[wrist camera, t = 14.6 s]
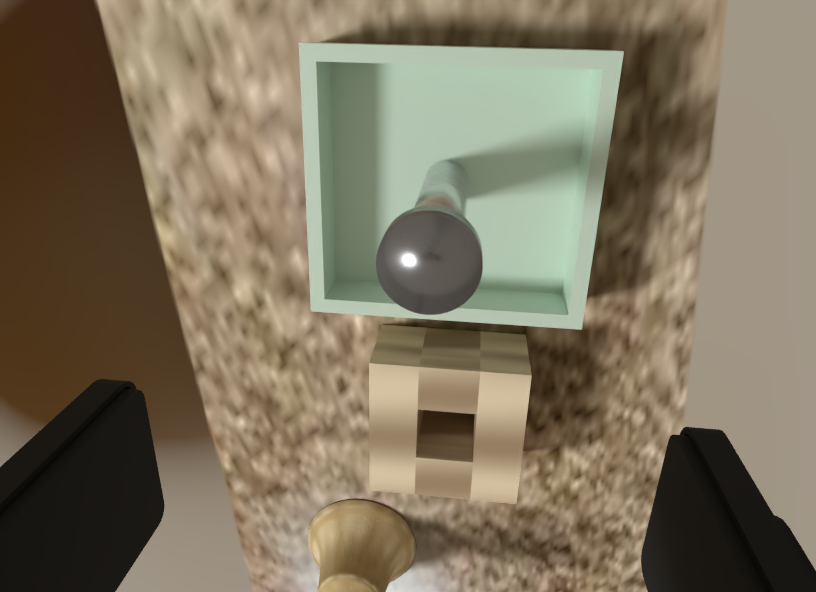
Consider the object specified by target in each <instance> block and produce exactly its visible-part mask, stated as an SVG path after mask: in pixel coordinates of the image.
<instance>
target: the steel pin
mask: <svg viewBox="0 0 816 592" xmlns="http://www.w3.org/2000/svg"><path fill="white" fill-rule="evenodd" d="M467 195H468V176H467V173H466V171H465V169H464V168H463V167H462V166H461V165H460V164H458V163H457V162H454V161H451V160H442V161H439V162H436V163H435V164H433V165H432V166H431V167H430V168H429V170H428V171H427V174H426V176H425V179H424V182H423V184H422V187H421V190H420V193H419V195H418V198H417V201H416V204H415V207H414V208H412V209H410V210H408V211H406V212H404V213H402V214H401V215H399V216H398V217H397V218H396V219H395V220H394V221H393V222H392V223H391V224H390V226H389V227H388V228H387V230H386V232H385V234H384V236H383V238H382V241H381V243H380V245H379V248H378V251H377V255H376V271H377V276H378V279H379V282H380V284H381V286H382V288H383V290H384V291H385V292H386V294H387V295H388V296H389V297H390V298H391V299H392V300H393V301H394V302H395V303H396V304H398V305H399V306H401V307H403V308H404V309H406V310H409V311H411V312H414V313H418V314H424V315H437V314H443V313H447V312H450V311H452V310H455V309H456V308H458V307H460V306H461V305H463V304H464V303H465V302H467V301H468V300H469V299H470V298H471V296H472V295H473V294H474V292H475V291H476V289H477V288H478V285H479V283H480V280H481V277H482V271H483V254H482V245H481V241H480V238H479V236H478V234H477V232H476V230H475V228H474V227H473V226H472V224H471V223H470V222H469V221H468V220H467V219H466V210H467Z"/></svg>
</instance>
